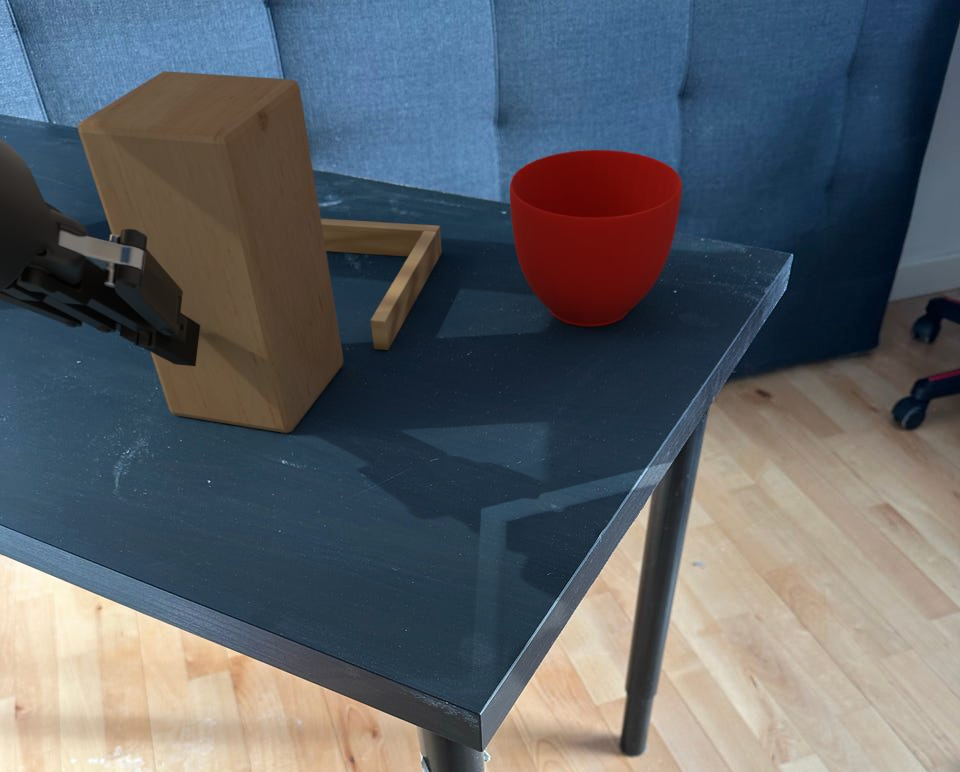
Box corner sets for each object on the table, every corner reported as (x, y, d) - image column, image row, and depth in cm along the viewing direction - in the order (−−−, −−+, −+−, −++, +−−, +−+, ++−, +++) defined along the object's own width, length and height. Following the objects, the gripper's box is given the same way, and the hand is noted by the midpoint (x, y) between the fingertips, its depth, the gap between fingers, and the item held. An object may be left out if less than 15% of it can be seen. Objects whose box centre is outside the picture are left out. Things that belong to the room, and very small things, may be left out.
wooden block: (346, 364, 73) (301, 77, 58) (291, 436, 66) (224, 135, 52) (232, 348, 75) (161, 68, 61) (168, 417, 69) (71, 122, 54)
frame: (388, 350, 74) (384, 321, 72) (175, 332, 77) (167, 303, 75) (441, 252, 85) (440, 225, 84) (254, 240, 89) (248, 213, 87)
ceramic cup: (609, 241, 86) (617, 123, 78) (696, 328, 75) (714, 200, 67) (475, 267, 83) (470, 148, 76) (544, 361, 72) (546, 231, 65)
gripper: (-235, 264, 40) (92, 392, 63) (35, 286, 38) (272, 411, 61) (-219, 85, 40) (105, 280, 63) (55, 95, 37) (286, 294, 60)
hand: (187, 344), depth 62 cm, fingers closed
